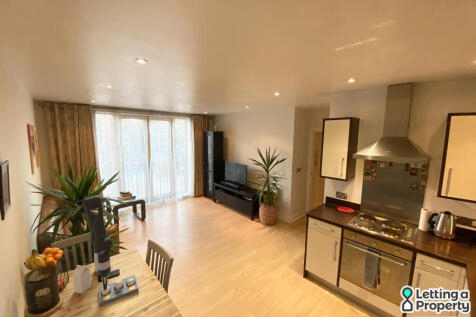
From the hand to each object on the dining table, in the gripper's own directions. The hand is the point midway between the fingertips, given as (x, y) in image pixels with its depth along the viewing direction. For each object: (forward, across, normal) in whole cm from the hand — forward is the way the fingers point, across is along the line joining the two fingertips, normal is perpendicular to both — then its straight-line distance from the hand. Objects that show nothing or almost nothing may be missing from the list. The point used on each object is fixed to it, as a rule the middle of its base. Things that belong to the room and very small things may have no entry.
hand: (105, 288), depth 141 cm
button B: (+3, 0, +8) cm, 9 cm away
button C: (+5, 0, +16) cm, 17 cm away
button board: (+6, 0, +8) cm, 10 cm away
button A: (+4, 0, 0) cm, 4 cm away
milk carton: (+6, -17, -14) cm, 23 cm away
